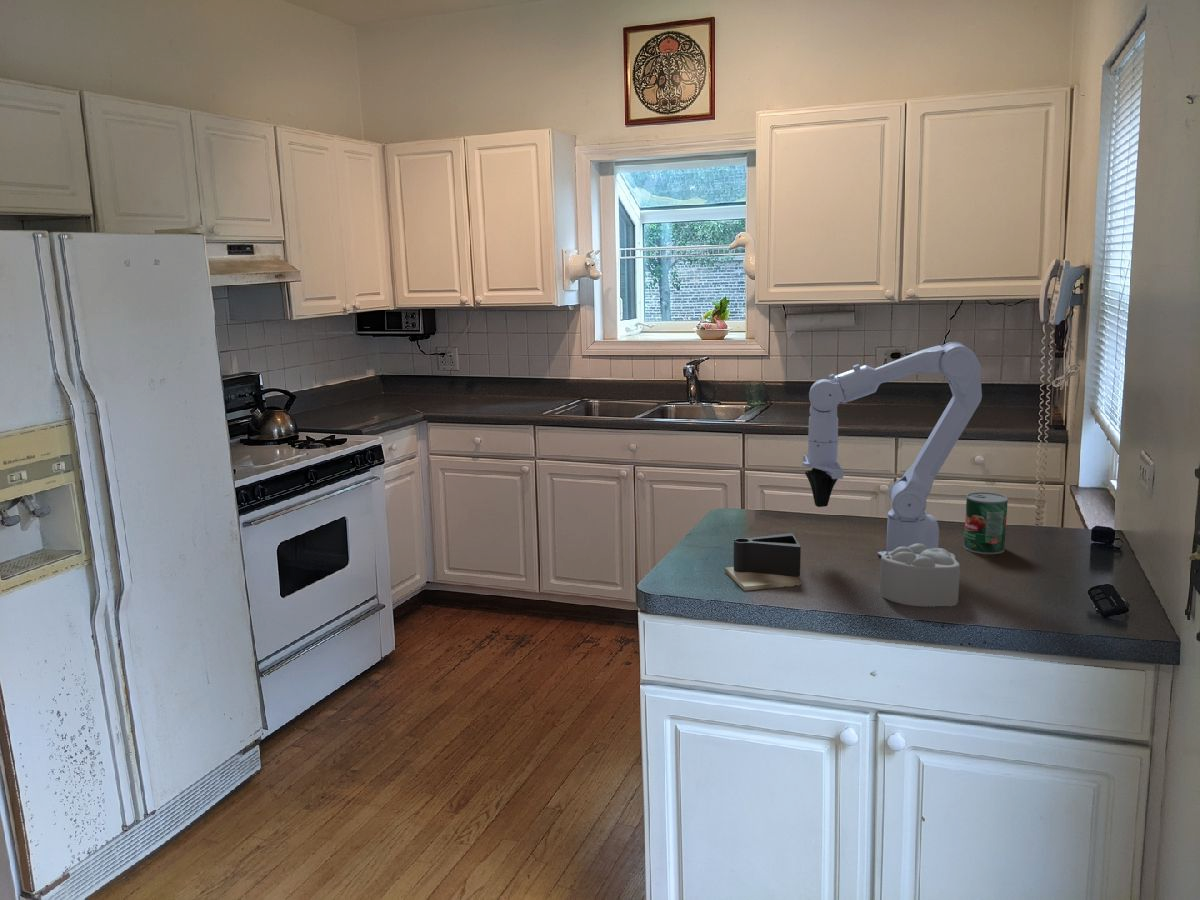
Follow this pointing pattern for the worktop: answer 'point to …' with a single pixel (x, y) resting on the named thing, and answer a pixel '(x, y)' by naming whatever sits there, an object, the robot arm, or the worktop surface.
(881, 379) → the robot arm
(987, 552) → the canned tomato
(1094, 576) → the worktop surface
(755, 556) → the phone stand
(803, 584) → the worktop surface
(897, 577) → the lumpy-topped squat cylinder
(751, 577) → the birch board
